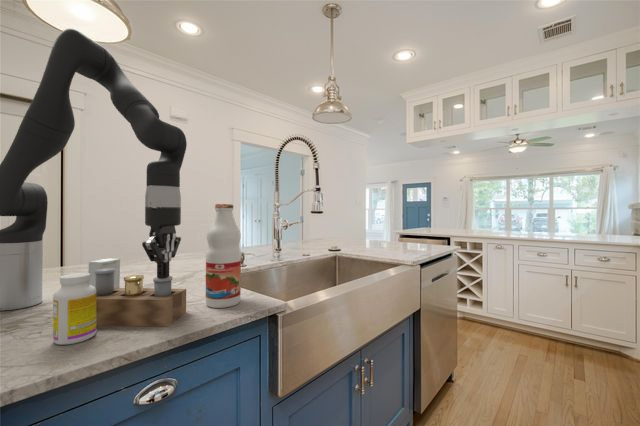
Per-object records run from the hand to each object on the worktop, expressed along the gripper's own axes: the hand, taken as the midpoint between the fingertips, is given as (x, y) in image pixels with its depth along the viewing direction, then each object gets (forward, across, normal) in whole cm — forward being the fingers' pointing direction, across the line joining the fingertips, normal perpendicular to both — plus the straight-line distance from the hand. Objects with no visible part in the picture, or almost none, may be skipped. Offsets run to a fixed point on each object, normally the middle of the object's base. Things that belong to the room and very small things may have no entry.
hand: (163, 277), depth 68 cm
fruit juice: (+10, -12, +10) cm, 19 cm away
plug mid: (+7, 0, -7) cm, 10 cm away
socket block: (+10, 0, -7) cm, 12 cm away
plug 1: (+5, 0, -14) cm, 15 cm away
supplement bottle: (+10, +11, -12) cm, 19 cm away
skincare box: (+10, -11, -23) cm, 27 cm away
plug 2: (+7, 0, 0) cm, 7 cm away
